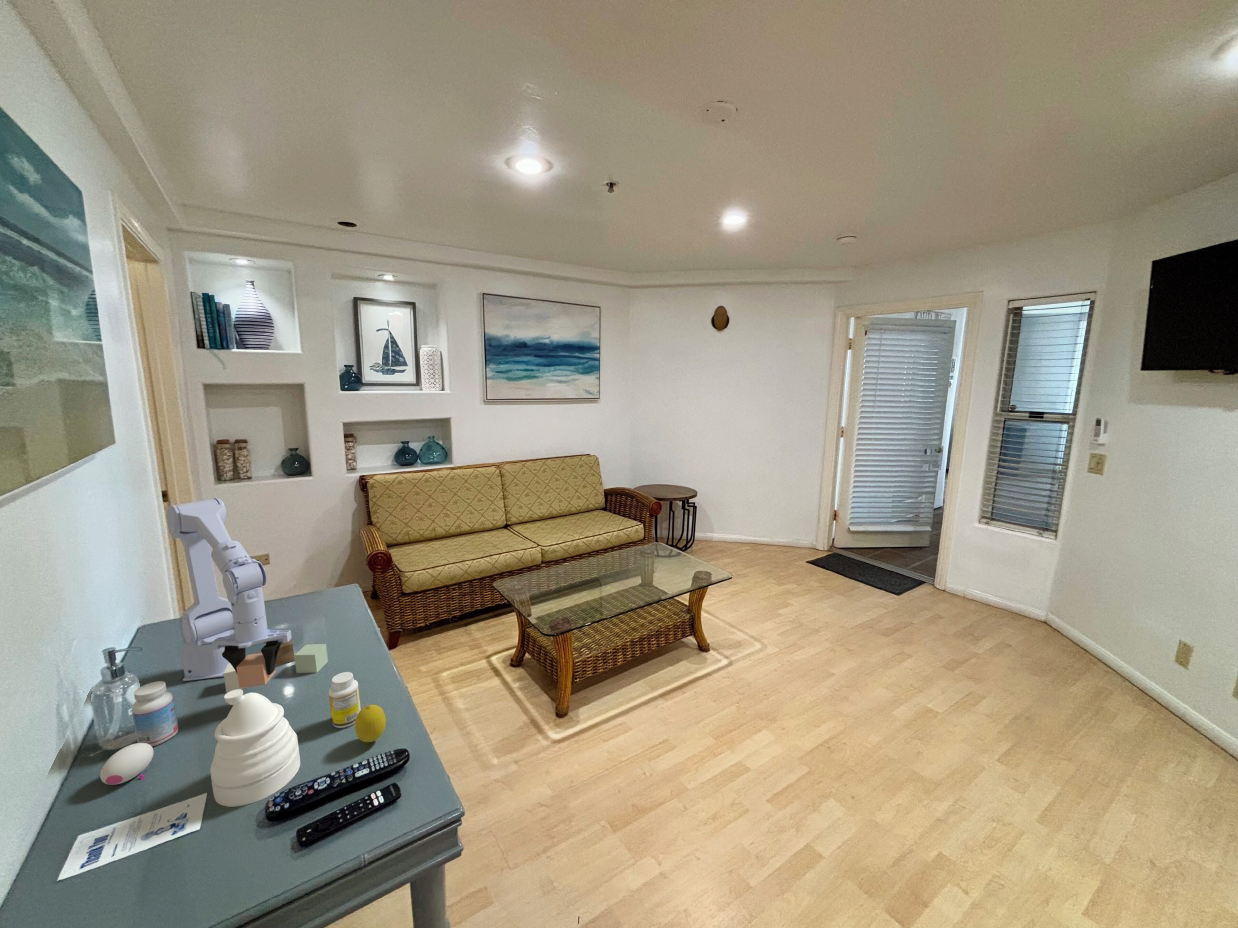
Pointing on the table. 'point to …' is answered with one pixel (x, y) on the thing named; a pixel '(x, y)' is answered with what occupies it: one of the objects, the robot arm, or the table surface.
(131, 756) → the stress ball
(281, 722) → the honey pot
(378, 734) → the lemon
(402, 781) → the table surface
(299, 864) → the table surface
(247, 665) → the terracotta block
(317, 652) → the sage block
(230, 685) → the cream block
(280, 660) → the walnut block
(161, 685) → the pill bottle
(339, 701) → the supplement bottle
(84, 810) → the table surface
